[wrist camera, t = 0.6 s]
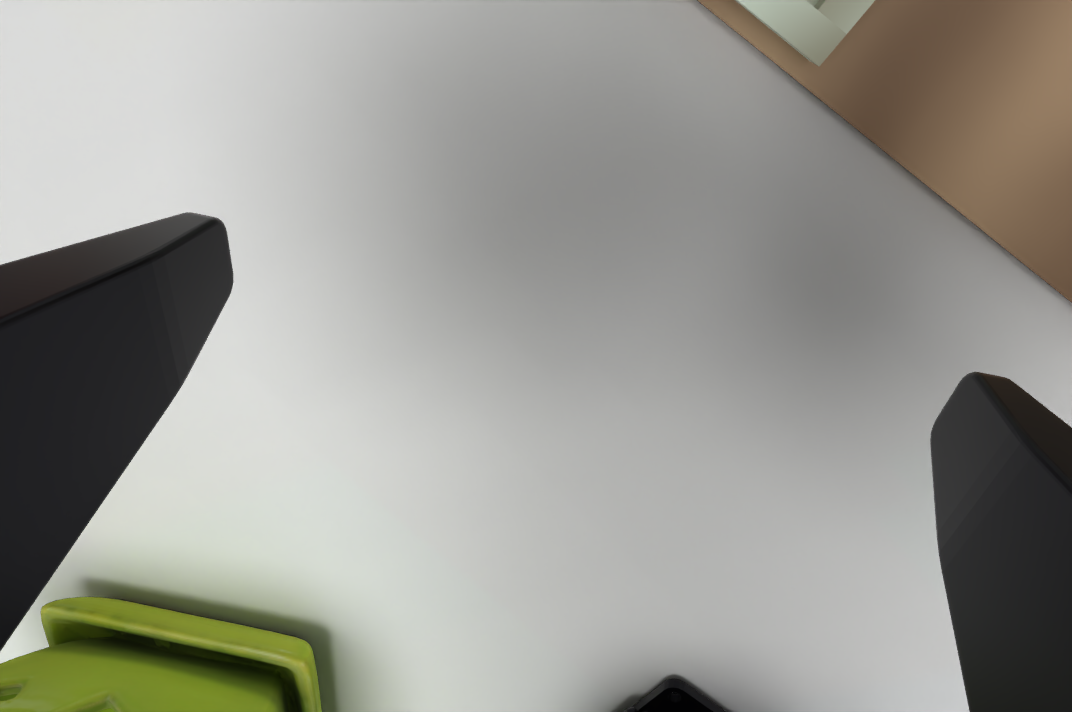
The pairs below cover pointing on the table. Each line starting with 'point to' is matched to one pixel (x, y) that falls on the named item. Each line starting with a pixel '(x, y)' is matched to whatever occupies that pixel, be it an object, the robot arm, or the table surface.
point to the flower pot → (156, 664)
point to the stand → (946, 100)
